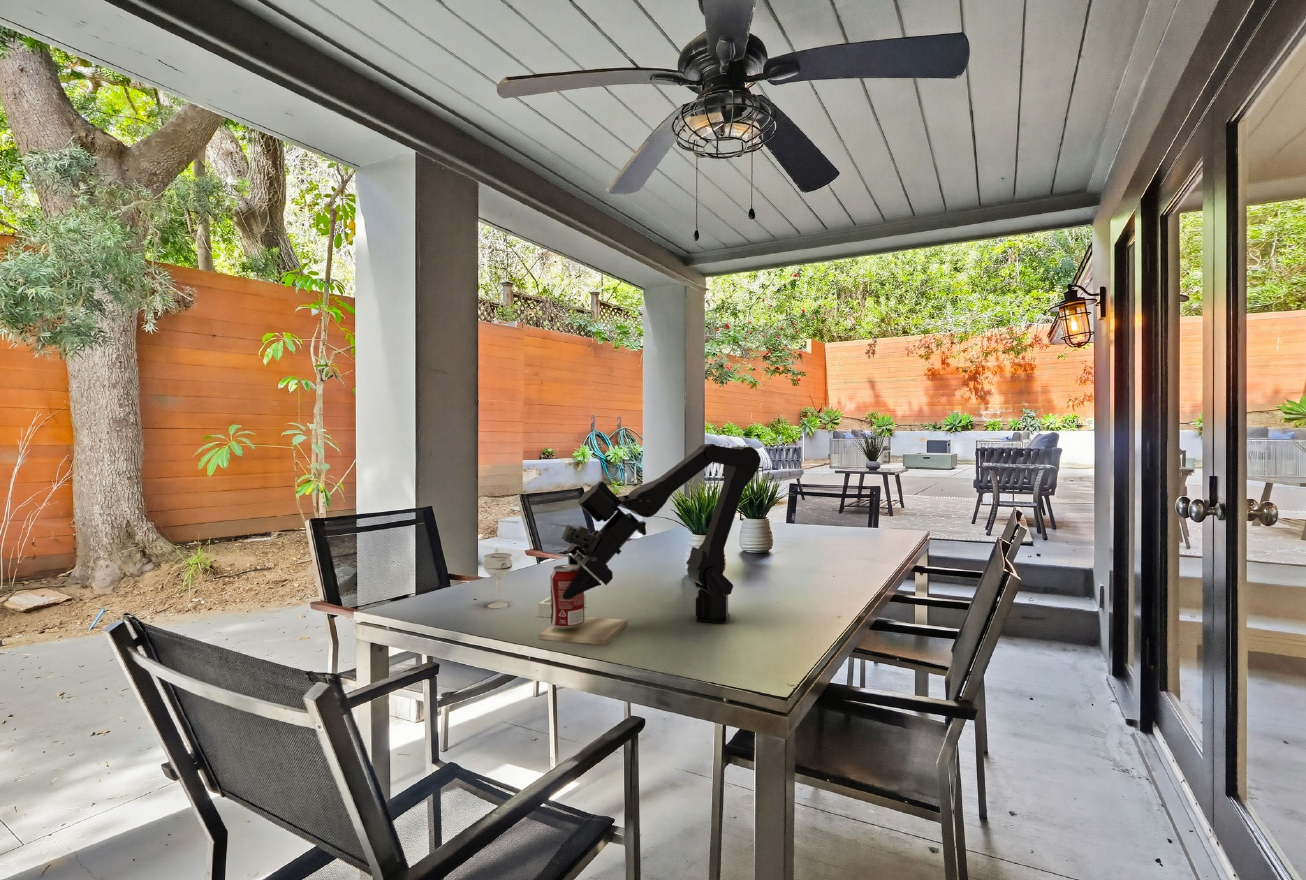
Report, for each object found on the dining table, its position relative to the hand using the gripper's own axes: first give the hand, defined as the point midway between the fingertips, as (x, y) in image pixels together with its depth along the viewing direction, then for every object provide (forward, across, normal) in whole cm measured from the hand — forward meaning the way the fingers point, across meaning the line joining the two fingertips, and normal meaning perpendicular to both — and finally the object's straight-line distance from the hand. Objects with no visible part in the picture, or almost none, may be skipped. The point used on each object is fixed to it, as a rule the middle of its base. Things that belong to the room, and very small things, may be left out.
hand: (560, 594), depth 129 cm
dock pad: (+2, 0, +9) cm, 10 cm away
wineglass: (+13, -28, -1) cm, 31 cm away
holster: (+3, -17, +8) cm, 19 cm away
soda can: (+4, 0, +6) cm, 7 cm away
